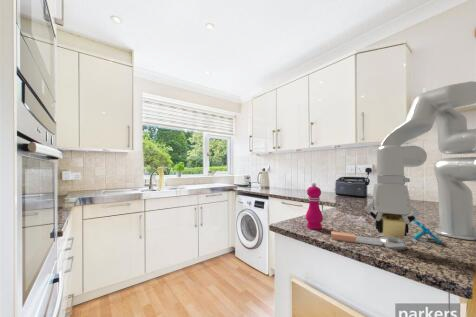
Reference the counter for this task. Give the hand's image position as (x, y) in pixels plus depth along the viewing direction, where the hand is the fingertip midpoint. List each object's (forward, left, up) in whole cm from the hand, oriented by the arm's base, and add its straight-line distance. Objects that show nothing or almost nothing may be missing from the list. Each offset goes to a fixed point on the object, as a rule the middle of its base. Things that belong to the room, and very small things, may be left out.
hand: (391, 232), depth 69 cm
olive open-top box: (0, 0, 0) cm, 0 cm away
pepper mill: (+26, -11, -5) cm, 29 cm away
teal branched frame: (-13, -14, -5) cm, 20 cm away
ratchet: (+8, -1, -5) cm, 9 cm away
